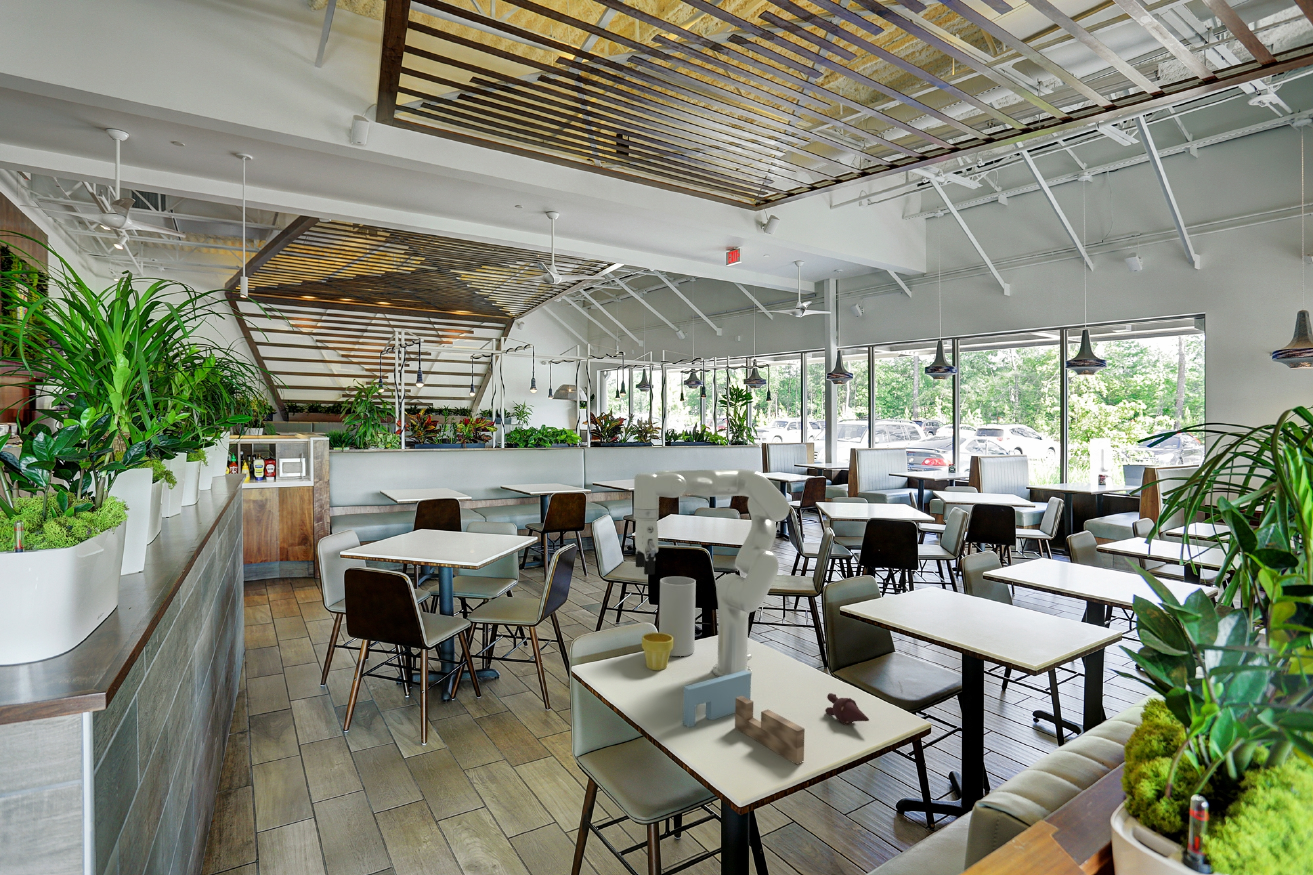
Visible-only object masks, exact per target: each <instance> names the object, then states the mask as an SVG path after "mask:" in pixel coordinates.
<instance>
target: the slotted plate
mask: <svg viewBox="0 0 1313 875" xmlns="http://www.w3.org/2000/svg"><path fill="white" fill-rule="evenodd" d="M751 683H752V674H751V673H750V672H748V671H746V670H745V671H741V672H737V673H733V674H729V675H726V676H722V677H719V676H717V677H716V678H710V679H707V680H704V681H699V682H696V683H692V684H689V685H685V686H683V703H682V712H683V713H682V724H683V725H684V726H686V727H687V728H690V727H693V726H696V713H697V712H696V711H697V710H696V708H697V706H700V705H702V704H705V718H707V719H708V720H709V721H714V720H717V719H719V718H722V717H727V716H729V715H732V714H735V701H736V698H737V697H740V696H744V697H746V698H748V699H749V700H751V692H752V691H751V690H752V688H751V685H752V684H751Z"/></svg>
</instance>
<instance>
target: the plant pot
mask: <svg viewBox="0 0 1313 875" xmlns="http://www.w3.org/2000/svg"><path fill="white" fill-rule="evenodd" d="M641 648H642V649H643V653H644V657H645V658H644V659H645V665H646V667H647V669H649V670H652V671H662V669H663V670H665V669H667V667H668V662H669V658H670V656H669V655H670V651H671V650H672V648H673V637H672V636H671V635H669V634H665V633H659V632H648V633H645V634H643V635H642V637H641Z"/></svg>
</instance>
